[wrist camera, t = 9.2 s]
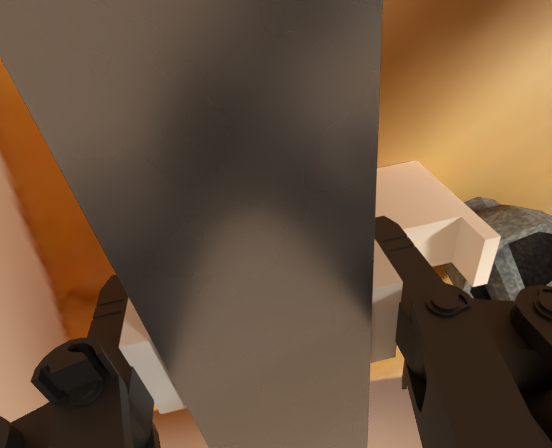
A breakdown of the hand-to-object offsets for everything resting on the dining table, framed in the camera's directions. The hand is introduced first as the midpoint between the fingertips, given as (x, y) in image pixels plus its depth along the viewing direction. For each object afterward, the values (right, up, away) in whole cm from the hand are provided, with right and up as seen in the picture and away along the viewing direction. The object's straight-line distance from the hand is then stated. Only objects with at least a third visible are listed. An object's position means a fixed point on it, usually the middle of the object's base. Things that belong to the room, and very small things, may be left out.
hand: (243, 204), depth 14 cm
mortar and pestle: (+20, -1, +23) cm, 30 cm away
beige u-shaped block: (+9, +2, +18) cm, 20 cm away
